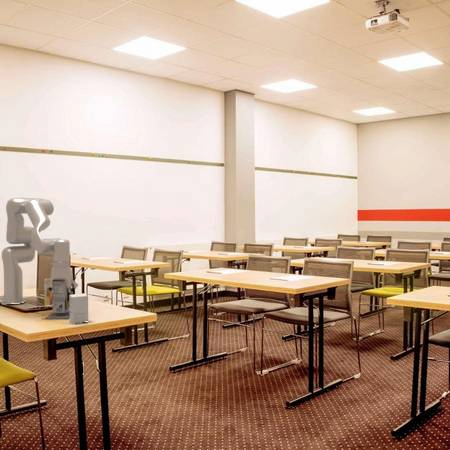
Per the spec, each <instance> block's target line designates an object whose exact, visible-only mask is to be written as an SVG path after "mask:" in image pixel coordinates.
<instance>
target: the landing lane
mask: <svg viewBox="0 0 450 450" xmlns="http://www.w3.org/2000/svg"><path fill="white" fill-rule="evenodd" d="M41 320H70V310H69V311H67V312H65V313H53V311H51V312H50V313H47V315H46V316H43V317H42V318H41Z"/></svg>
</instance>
